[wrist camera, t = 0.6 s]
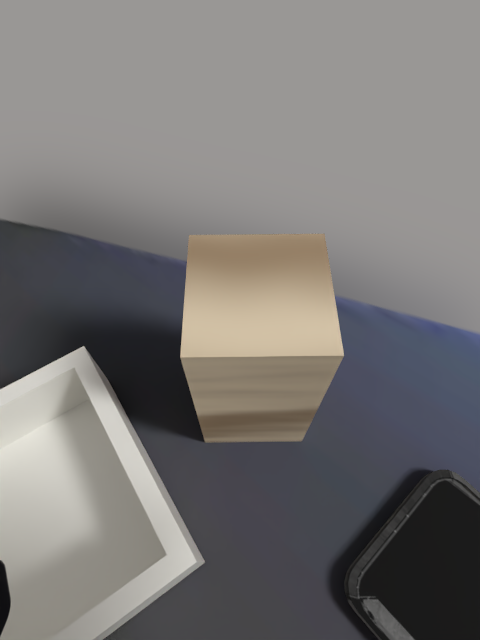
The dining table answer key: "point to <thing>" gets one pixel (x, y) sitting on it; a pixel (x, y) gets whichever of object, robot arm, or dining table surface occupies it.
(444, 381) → the dining table surface
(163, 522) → the box
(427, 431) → the dining table surface
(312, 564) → the dining table surface
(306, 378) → the wood block
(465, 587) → the phone
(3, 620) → the robot arm
